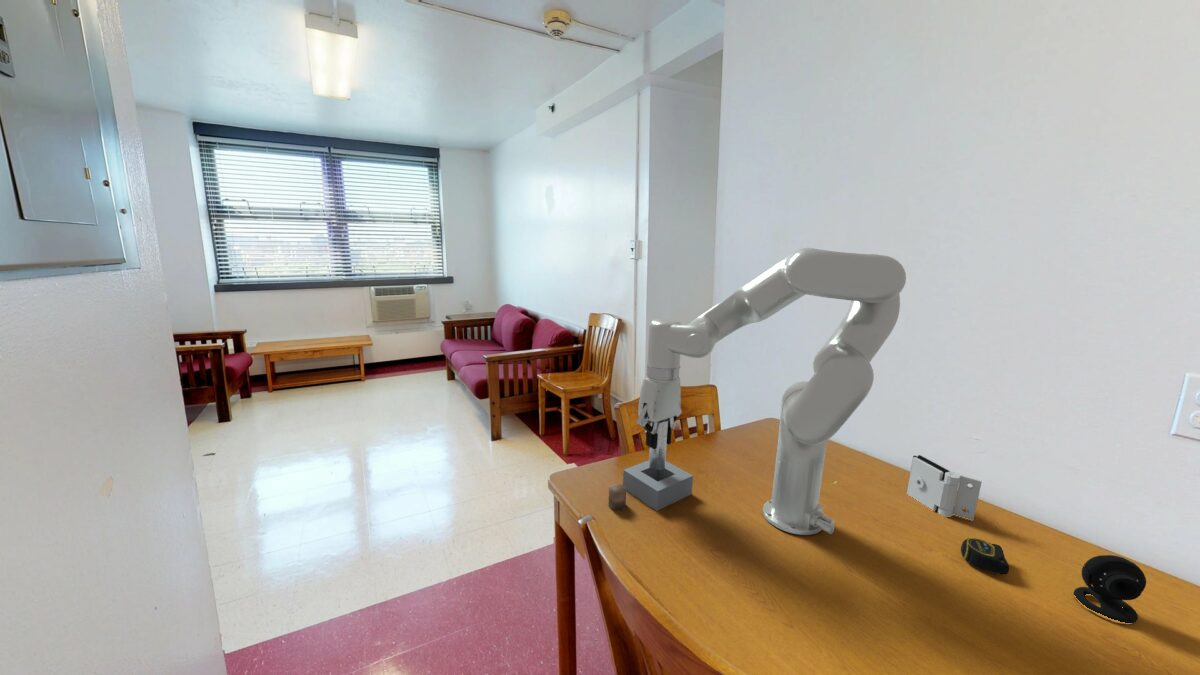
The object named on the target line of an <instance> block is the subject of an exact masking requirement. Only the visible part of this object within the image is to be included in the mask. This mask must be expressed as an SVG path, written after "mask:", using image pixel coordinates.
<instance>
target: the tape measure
mask: <svg viewBox="0 0 1200 675" xmlns="http://www.w3.org/2000/svg"><path fill="white" fill-rule="evenodd" d="M960 546H961V547H960V553H961V556H962V558H963V559H964V560H965V561H966V562H967V563H968V564H970V565H971V566H973V567H974V566H975V567H974V568H976V567H977V568H976V569H978V568H979V569H978V570H981V571H983V570H984V572H988V573H993V574H998V575H1002V576H1004V575H1008V574H1009V572H1010V565H1009V562H1008V561H1007V559H1006V557H1005V554H1004V550H1003V548H1002V547H1001V545H999V544H996V543H990V542H988V541H987V540H984V539H981V538H975V537H970V538H969V537H968V538H966V539H964V540H963V541H962V543H961V545H960Z"/></svg>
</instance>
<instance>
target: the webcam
mask: <svg viewBox="0 0 1200 675" xmlns="http://www.w3.org/2000/svg"><path fill="white" fill-rule="evenodd" d="M1081 577H1082V580H1083V582H1084V584H1085V585H1086V586H1080V587H1076V588H1074V591H1073V596H1074V595H1075V596H1076V598H1077V599H1078V600H1079V601H1080V602H1081V603H1082V604H1083V605H1085V606H1086V607H1087V608H1089V609H1091V610H1093V611H1095V612H1097V613H1100V614H1102V615H1104V616H1107V617H1108V618H1111V619H1114V620H1118V621H1120V622H1125V623H1133V624H1135V623H1137V622H1138V620H1139V615H1138V613H1137V611H1136V610H1135V609H1134V608H1133V607H1132V606H1131V605H1130V604H1129V603H1127V602H1126V601H1132V600H1135V599H1138V598H1139V597H1141V595H1142V593H1143V592H1144V590H1145V588H1146V586H1147V578H1146V575H1145V573H1144V572H1143V571H1142V570H1141V568H1140V567H1139V566H1138V565H1137V564H1136V563H1134V562H1132V561H1131V560H1129V559H1127V558H1125V557H1122V556H1118V555H1111V554H1103V555H1102V554H1101V555H1100V554H1099V555H1096V556H1093V557H1091V558H1089V559H1088V560H1087V561H1086V562H1085V563H1084V564H1083V566H1082V568H1081ZM1086 594H1091V595H1093V596H1094V597H1093V596H1092V597H1093V598H1095V599H1096V601H1097V602H1098V603H1099V605H1100V606H1099V605H1096V604H1094V603H1093V602H1092V601H1090V600H1089V599H1088V598H1087V596H1085V595H1086ZM1122 607H1123V608H1122ZM1136 621H1137V622H1136ZM1134 622H1135V623H1134Z"/></svg>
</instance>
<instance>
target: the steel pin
mask: <svg viewBox="0 0 1200 675" xmlns="http://www.w3.org/2000/svg"><path fill="white" fill-rule="evenodd" d="M650 425H651V426H652V422H651V423H650ZM667 430H668V419H664V420H661V421H658V424H657V429H656V433H657V434H658V437H657V448H656V449H652V448H650V447H649V453H648V455H649V456H648V460H649V467H650V468H652V469H655V470H661V469H664V468H665V461H667V460H666V458H667V445H668V444H667Z"/></svg>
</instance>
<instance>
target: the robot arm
mask: <svg viewBox="0 0 1200 675" xmlns="http://www.w3.org/2000/svg"><path fill="white" fill-rule="evenodd" d="M906 281H907V273H906V270H905V268H904V266H903V265H902V264H901V263H900V262H899V260H897V259H896V258H894V257H891V256H889V255H882V254H877V253H876V254H875V253H856V252H855V253H854V252H844V251H842V252H841V251H832V250H826V249H818V248H811V247H804V248H803V247H802V248H800V249H798V250H795V251H794V252H791V253H790V254H788V255H787V256H785V257H784V258H783V259H782V260H780V261H778V262H777V263H775V264H774V265H772V266H770V267H769V268H768V269H766V270H765V271H763V272H762V273H760V274H758V275H757V276H756V277H754V278H752V280H750V281H748V282H747V283H746V284H743V285H742V286H741V287H739V288H738V289H736V290H735V291H734V292H733V293H732V294H730V295H729V296H728V297H726V298H725V299H723V300H721V302H719V303H717V304H716V305H714V306H712V307H711V308H710V309H708V310H707V311H705V312H704V313H702V314H701V315H699V316H698V317H696V318H694V319H693V320H692V321H690V323H689V324H682V323H681V322H680V321H679V320H676V319H671V318H655V319H652V320H651V322H649V325H648V339H647V340H648V342H647V357H646V358H647V360H646V376H645V377H643V380H642V382H641V384H642V385H641V388H640V393H639V400H638V412H637V413H638V418H637V420H636V424H637V425H639V426H641V427H642V428H643V429H644V431H646V432H645V433H646V434H645V445H646V446H647V447H649V449H650V448H652V449H656V448H657V437H658V434H657V433H656V429H657V424H658V421H661V420H664V419H668V430H667V445H671V443H672V433H673V432H672V431H673V430H672V429H674V427H675V422H676V421H677V419H678V417H680V415H681V414H682V411H683V410H682V409H681V404H682V403H681V401H682V400H681V398H682V396H681V394H682V392H681V391H682V388H681V386H682V385H681V379H680V370H681V365H680V363H681V355H682V356H685V357H689V358H693V359H694V358H695V359H702V358H704V357H707V356H708V355H710V354H711V352H712V351H713V349H714V347H715V345H716V344H717V343H718V342H720V341H721V340H723V339H724V338H726V337H727V336H729V335H731V334H732V333H734V332H736V331H737V330H740V329H741V328H743V327H745V326H747V325H750V324H755V323H759V322H763V321H765V320H767V319H769V318H771V316H773V315H775V314H776V313H778V312H780V311H781V310H783V309H784V308H786V307H788V306H789V305H790V304H792V303H794V302H796V301H797V300H799V299H801V298H802V297H804V296H806V295H809V296H814V297H820V298H827V299H836V300H844V301H850V306H849V308H848V310H847V312H846V314H845V316H844V317H843V319H842V321H841V322H840V324H839V325H837V326H838V327H837V328H836V329H835V330H834V331H833V333H832V334H831V335H830V336H829V338H828V339H827V340H826V342H825V344H823V345H822V347H821V348H820V349H819V351H817V353H816V354H815V356H814V358H813V362H812V369H813V372H814V373H813V375H812V377H811V378H810V379H809V380H808V381H806V380H805V381H797V382H796V383H795V382H794V383H793V384H792V385H790V386H789V387H787V388H786V390H785V391H784V393H783V395H782V397H781V402H780V408H779V409H780V410H779V411H780V412H779V414H780V415H779V424H778V425H779V427H778V438H777V448H776V454H775V463H774V465H775V466H774V474H773V481H772V492H771V499H769V500H767V501H766V502H765V503H764V504H763V507H762V514H763V516H764V518H765V519H766V521H767V522H769V524H771V525H772V526H774V527H775V528H777V529H780V530H781V531H784V532H786V533H790V534H793V535H799V536H812V535H817V534H818V533H820V532H821V531H825V533H828V534H829V535H833V533H834V531H835V528H836V527H835V525H834V523H835V519H833V518H831V517H829V516H827V515H825V513H824V512H823V508H824V507H823V505H821V504H819V502H820V495H821V494H820V493H821V487H822V486H821V485H822V480H823V472H824V464H825V459H826V451H827V443H828V442H827V441H828V440H830V439H832V437H834V436H835V435H836V433H837V432H839V430H841V428H842V427H843V426H844V424H845V423H846V422H847V421H848V420H849V418H850V417H851V416H852V415H853V414H854V412H856V410H857V408H858V407H859V406H860V405H861V404H862V402H864V400H865V399H866V398H867V396H868V395H869V392H870V390H871V389H872V387H873V384H874V376H875V374H874V369H873V367H872V364H871V362H872V360H873V358H874V357H875V356H876V355H877V353H878V352H879V350H880V349H881V348H882V347H883V345H884V344H885V342H886V341H887V339H888V338H889V336H890V335H891V334H892V331H893V330H894V328H895V326H896V324H897V322H898V319H899V315H900V309H901V296H900V293H901V292H902V290H904V288H905V285H906V283H907V282H906ZM651 422H652V426H651Z"/></svg>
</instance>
